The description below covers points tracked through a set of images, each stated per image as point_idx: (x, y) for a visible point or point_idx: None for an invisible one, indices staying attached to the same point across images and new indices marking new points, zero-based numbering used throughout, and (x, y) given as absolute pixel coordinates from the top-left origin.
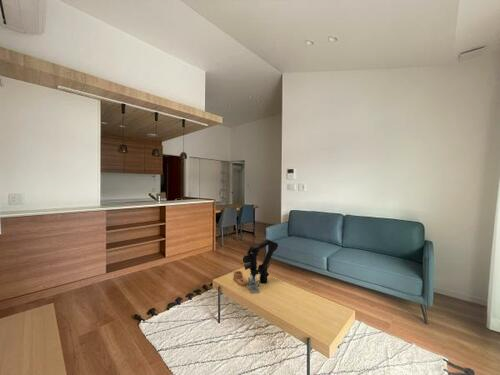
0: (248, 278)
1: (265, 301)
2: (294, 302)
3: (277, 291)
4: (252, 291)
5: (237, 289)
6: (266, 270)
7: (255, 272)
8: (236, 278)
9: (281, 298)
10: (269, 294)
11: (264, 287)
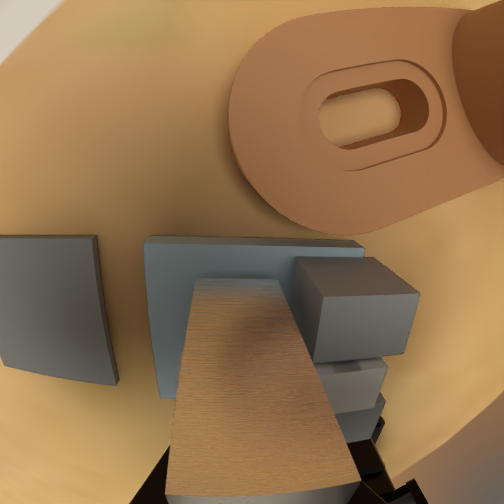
0: (391, 285)
1: None
2: (8, 494)
3: (103, 496)
4: (18, 278)
5: (127, 8)
6: None
7: None
8: (459, 27)
9: (15, 471)
10: (32, 436)
11: (169, 445)
